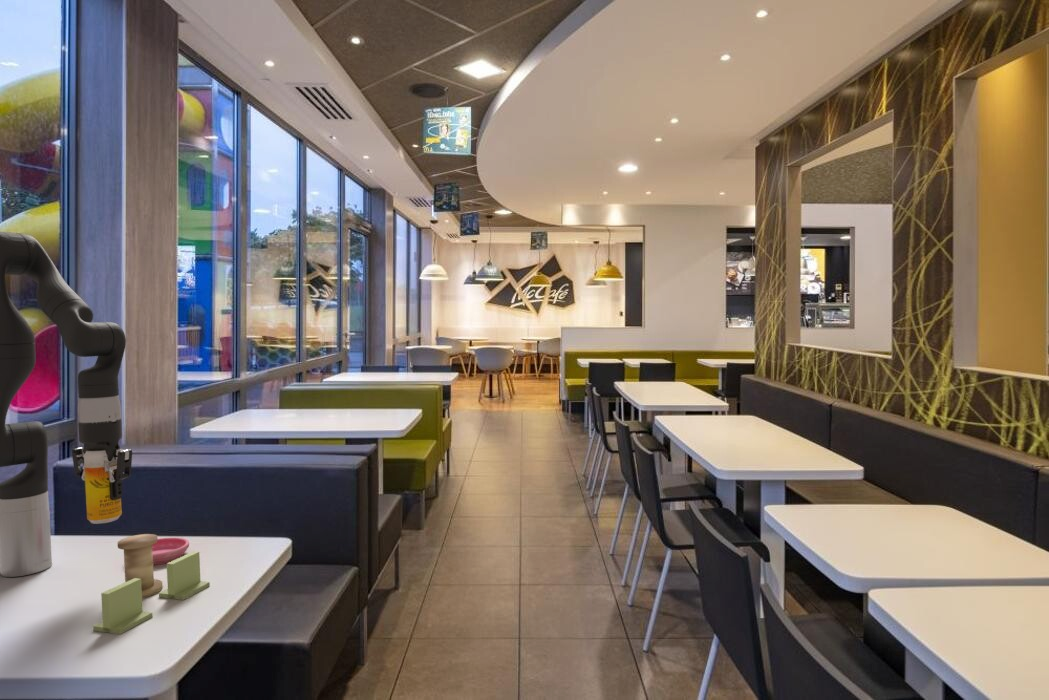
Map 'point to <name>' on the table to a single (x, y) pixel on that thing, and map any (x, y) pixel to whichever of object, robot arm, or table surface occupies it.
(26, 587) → the table surface
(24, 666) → the table surface
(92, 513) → the beer can
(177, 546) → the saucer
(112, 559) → the table surface
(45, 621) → the table surface
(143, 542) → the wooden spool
